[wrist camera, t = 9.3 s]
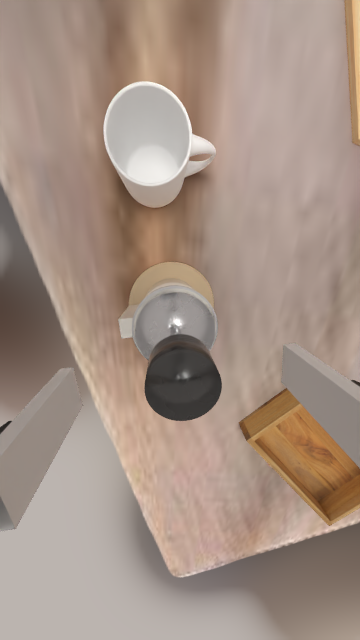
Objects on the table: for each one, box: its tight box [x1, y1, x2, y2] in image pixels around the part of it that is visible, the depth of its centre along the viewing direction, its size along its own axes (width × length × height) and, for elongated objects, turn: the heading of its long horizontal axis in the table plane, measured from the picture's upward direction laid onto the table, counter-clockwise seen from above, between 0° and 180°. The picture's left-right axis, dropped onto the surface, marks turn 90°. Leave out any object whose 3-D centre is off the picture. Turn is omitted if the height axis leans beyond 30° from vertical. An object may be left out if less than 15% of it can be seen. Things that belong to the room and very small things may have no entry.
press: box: [118, 262, 218, 360], centre depth 30 cm, size 14×14×13 cm
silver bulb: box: [135, 292, 222, 421], centre depth 18 cm, size 8×8×11 cm
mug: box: [103, 81, 216, 208], centre depth 26 cm, size 9×12×11 cm
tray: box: [239, 388, 360, 526], centre depth 45 cm, size 31×15×6 cm, turn 40°
